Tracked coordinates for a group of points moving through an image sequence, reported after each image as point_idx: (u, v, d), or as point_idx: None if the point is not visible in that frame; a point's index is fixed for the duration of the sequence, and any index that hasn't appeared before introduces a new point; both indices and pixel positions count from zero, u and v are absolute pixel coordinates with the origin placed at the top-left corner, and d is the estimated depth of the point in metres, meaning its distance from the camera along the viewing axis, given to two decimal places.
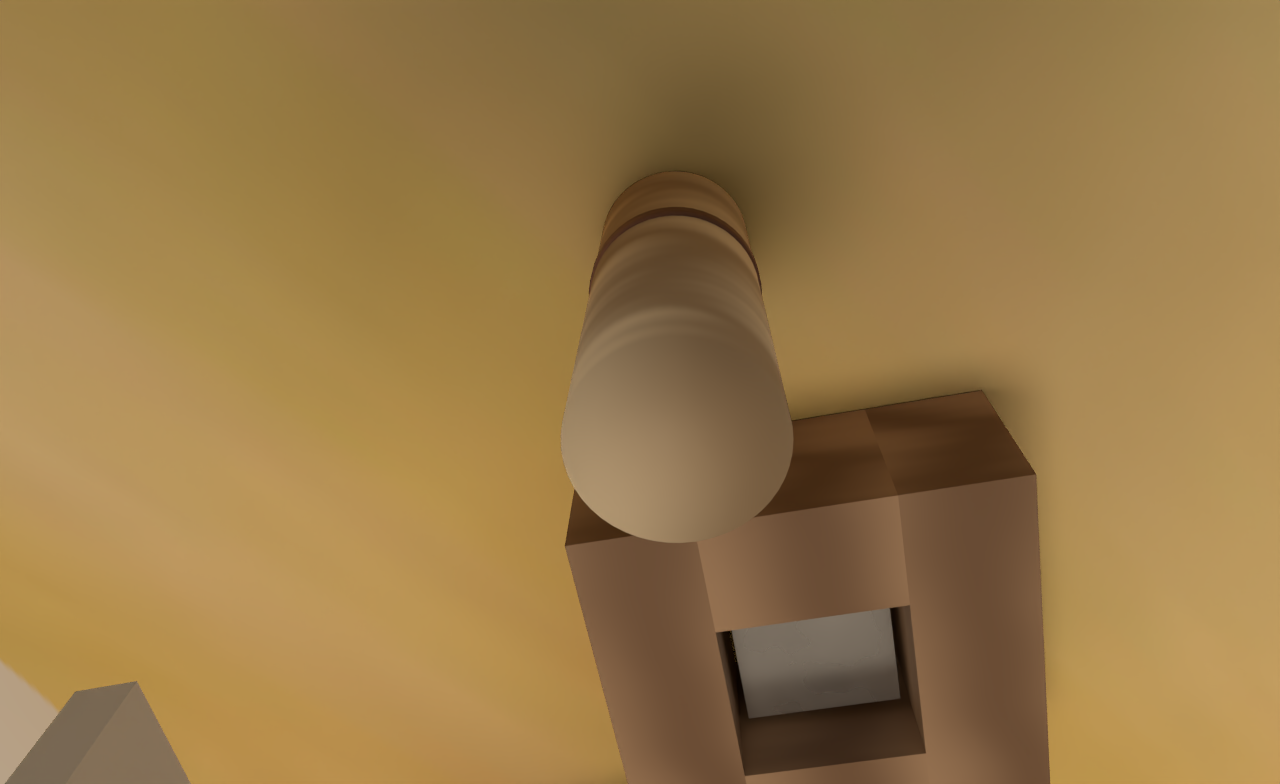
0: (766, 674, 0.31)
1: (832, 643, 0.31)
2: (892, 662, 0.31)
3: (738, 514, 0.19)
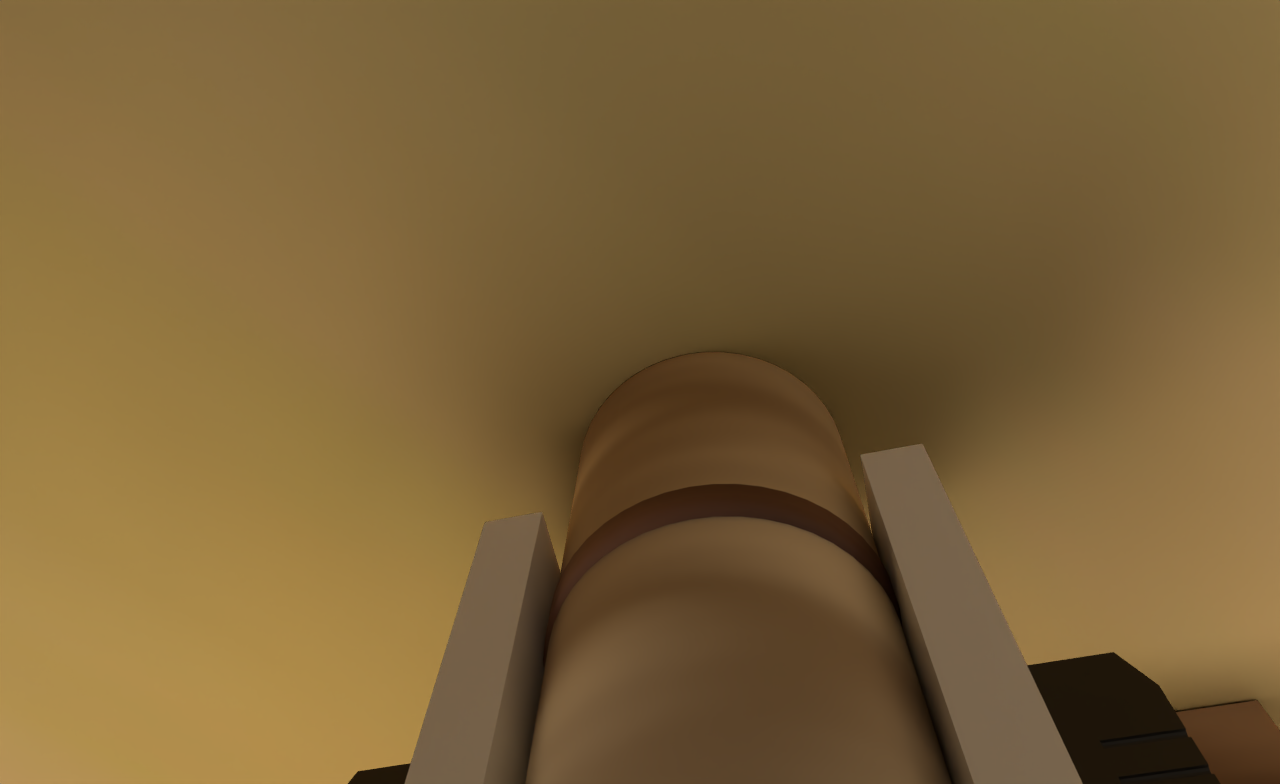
0: None
1: None
2: None
3: None
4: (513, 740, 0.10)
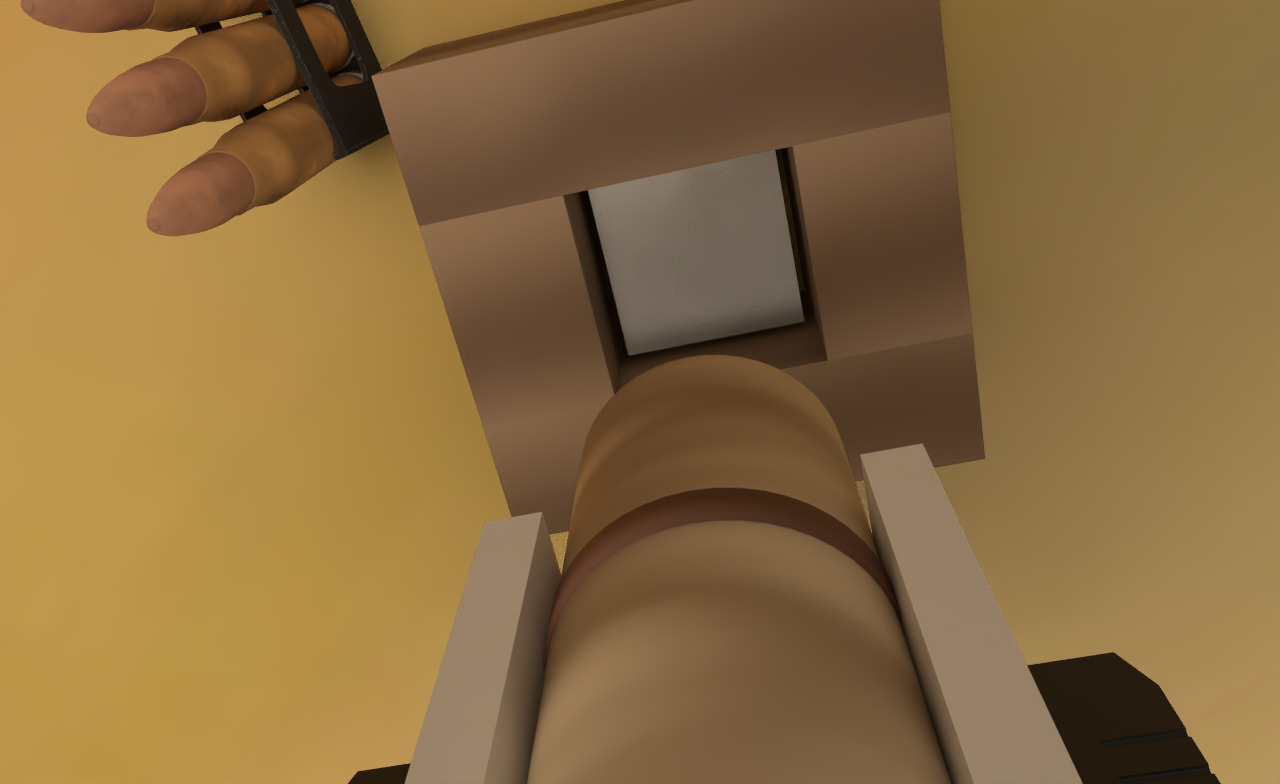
0: (656, 201, 0.26)
1: (705, 273, 0.26)
2: (679, 341, 0.27)
3: None
4: (513, 740, 0.10)
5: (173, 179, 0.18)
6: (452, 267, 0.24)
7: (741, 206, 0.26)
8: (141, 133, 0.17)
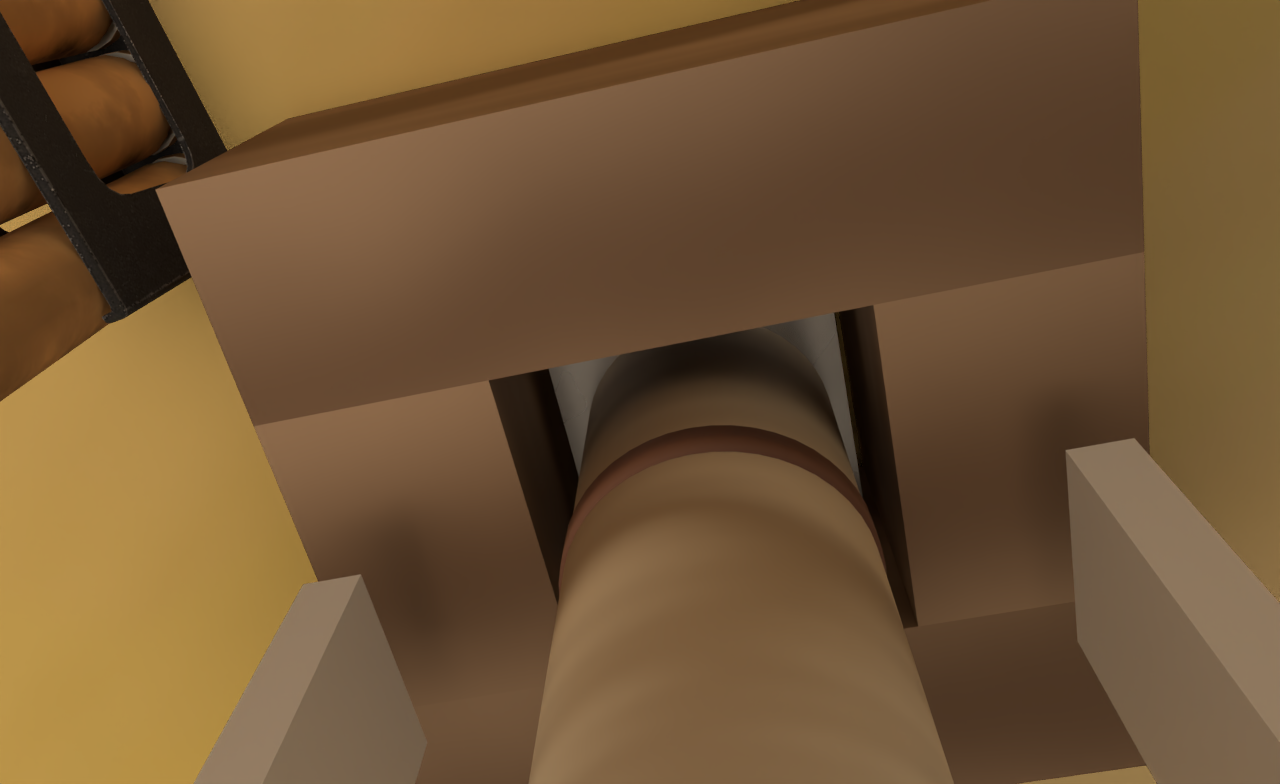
0: None
1: None
2: None
3: None
4: None
5: None
6: (312, 487, 0.15)
7: None
8: None
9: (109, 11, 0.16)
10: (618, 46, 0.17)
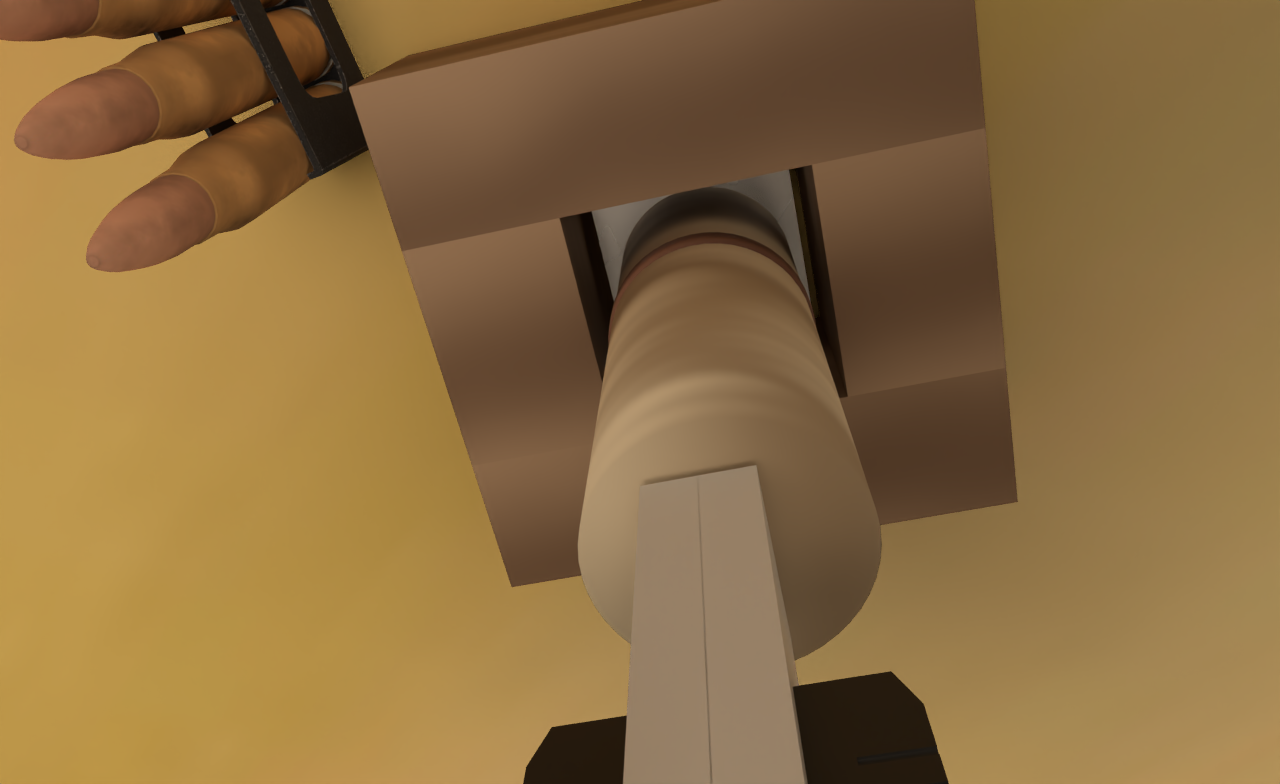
0: None
1: None
2: None
3: (808, 638, 0.14)
4: None
5: (119, 207, 0.16)
6: (438, 295, 0.22)
7: None
8: (81, 155, 0.15)
9: None
10: (643, 2, 0.24)
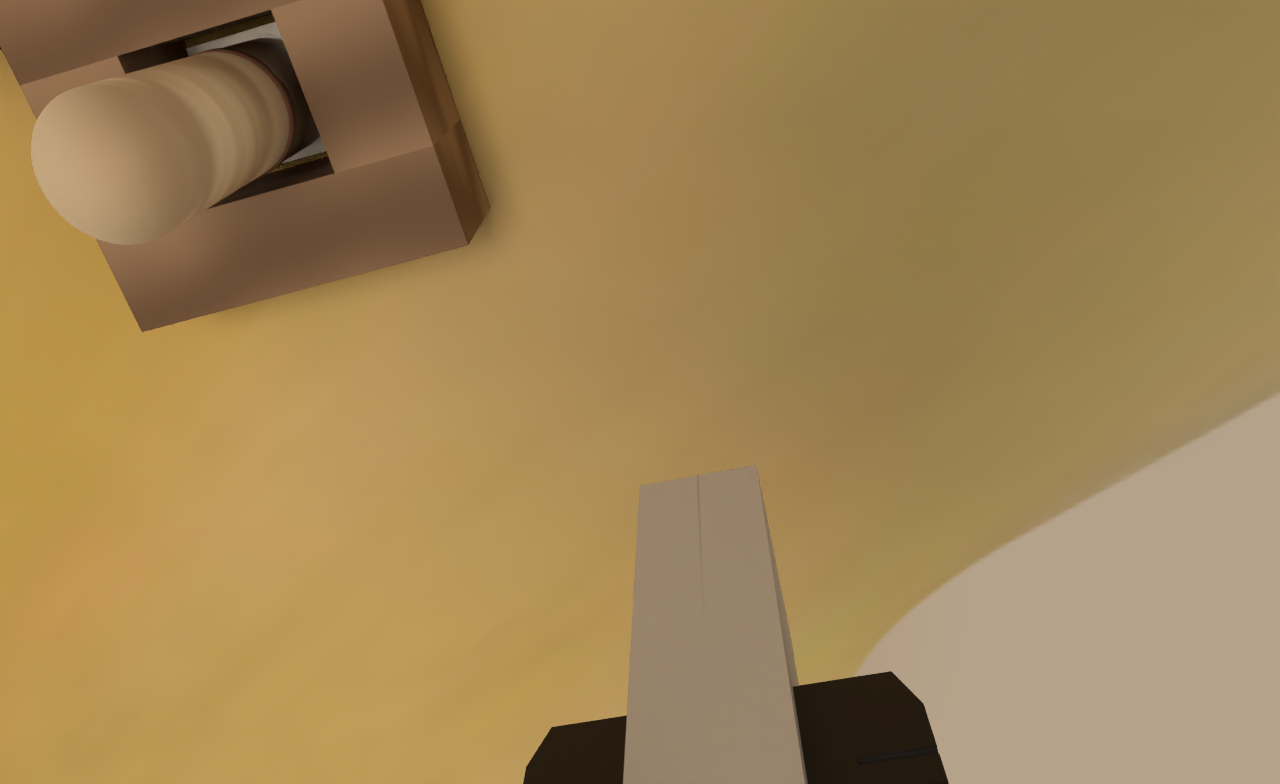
0: None
1: None
2: None
3: (170, 218, 0.27)
4: None
5: None
6: None
7: None
8: None
9: None
10: None
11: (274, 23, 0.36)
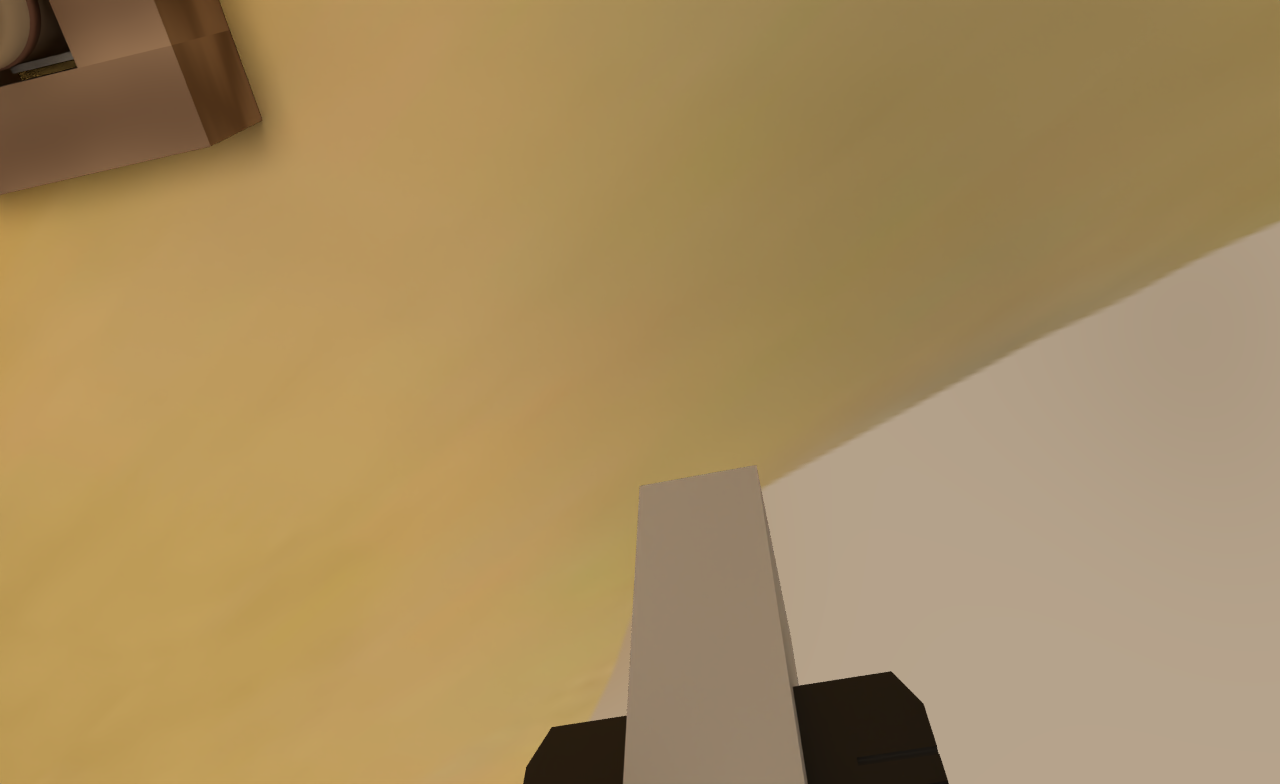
0: None
1: None
2: (45, 62, 0.39)
3: None
4: None
5: None
6: None
7: None
8: None
9: None
10: None
11: None
